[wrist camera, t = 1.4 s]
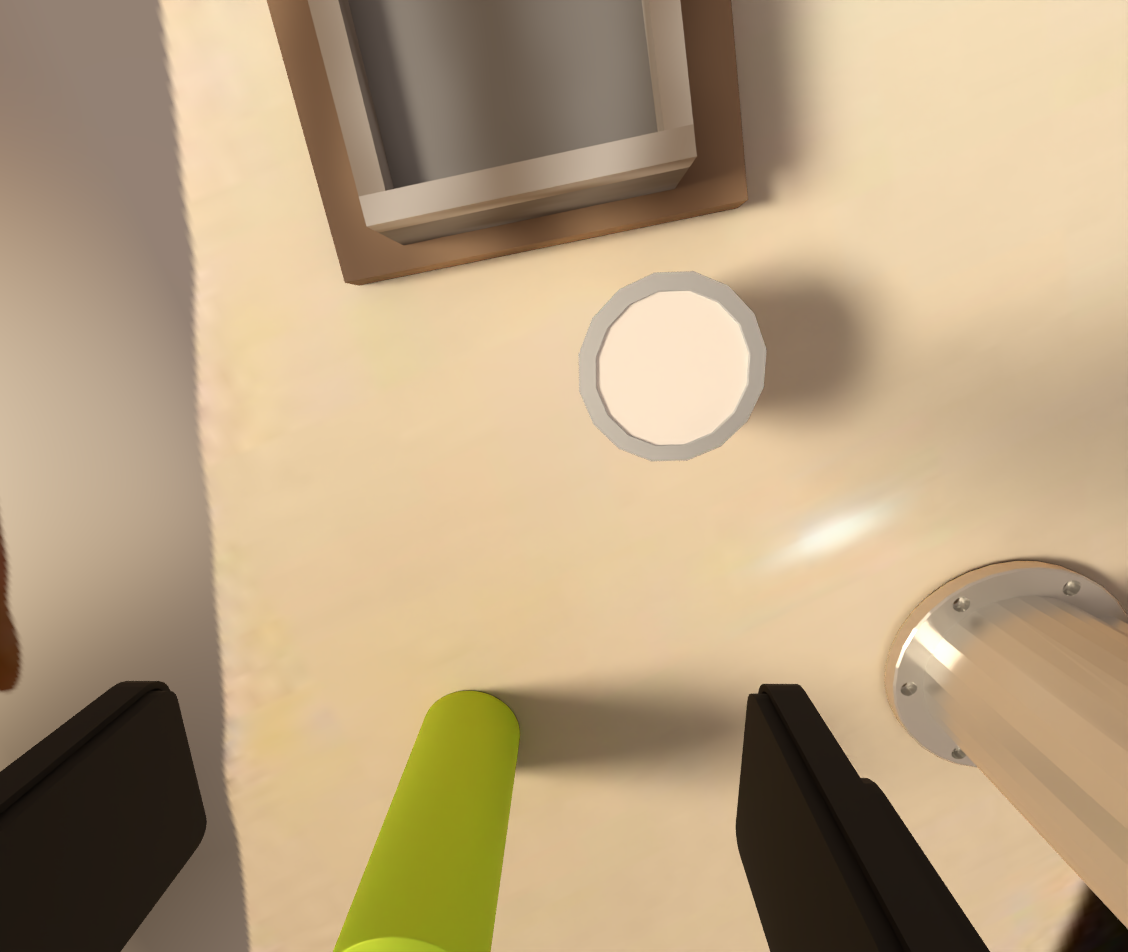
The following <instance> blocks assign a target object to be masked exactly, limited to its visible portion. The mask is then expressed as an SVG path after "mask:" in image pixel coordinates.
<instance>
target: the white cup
mask: <svg viewBox="0 0 1128 952" xmlns="http://www.w3.org/2000/svg"><path fill="white" fill-rule="evenodd" d="M766 350H767V349H766V346H765V343H764V340H763V337H762V334H761V331H760V328H759V326H758V323H757V320H756V317H755V314H754V313H753V312H752V310H751V309H750V308H749V307H748V306H747V305H746V304H745V303H744V302H743V301H742V300H741V299H740V297H739V296H738V295H737V294H736V293H735V292H734V291H733V290H732V289H731V288H730V287H729V286H728V285H725V284H723V283H720V282H718V281H716V280H713V279H711V278H708V277H706V276H704V275H701V274H699V273H696V272H694V271H691V272H658V273H653V274H651V275H649V276H647V277H644V278H642V279H640V280H638V281H636V282H634V283H632V284H629V285H627V286H625V287H623V288H621V289H619V290H618V291H617V292H616V293H615V294H614V295H613V296H612V298H611V299H610V300H609V301H608V302H607V303H606V304H605V305H604V306H603V307H602V308H601V310H600V311H599V312H598V313H597V314H596V315H595V316H594V317H593V318H592V321H591V323H590V326H589V329H588V331H587V334H586V336H585V339H584V342H583V344H582V347H581V350H580V352H579V392H580V394H581V397H582V399H583V401H584V404H585V406H586V408H587V410H588V413H589V415H590V417H591V420H592V422H593V424H594V425H595V426H596V427H597V428H598V429H599V430H600V431H601V432H602V433H603V434H604V435H605V436H606V437H607V438H608V439H609V440H610V441H611V442H612V443H613V444H614V445H615V446H617V447H618V448H619V449H621V450H623V451H626V452H629V453H631V454H634V455H636V456H639V457H642V458H644V459H647V460H649V461H687V460H689V459H692V458H694V457H697V456H699V455H701V454H704V453H706V452H709V451H711V450H713V449H716V448H718V447H721V446H722V445H723V444H724V443H725V442H726V441H727V440H728V439H729V438H730V437H731V436H732V435H733V434H734V433H735V432H736V431H737V430H739V429H740V428H741V427H742V426H743V425H744V424H745V423H746V422H747V421H748V419H749V417H750V415H751V413H752V411H753V408H754V406H755V404H756V402H757V400H758V398H759V396H760V394H761V392H762V390H763V388H764V377H765V364H766Z"/></svg>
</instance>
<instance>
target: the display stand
mask: <svg viewBox="0 0 1128 952" xmlns="http://www.w3.org/2000/svg"><path fill="white" fill-rule="evenodd" d="M267 3H268V7H269V10H270V14H271V17H272V21H273V25H274V28H275V32H276V35H277V39H278V43H279V46H280V50H281V53H282V57H283V61H284V64H285V68H286V71H287V75H288V79H289V82H290V86H291V90H292V93H293V97H294V100H295V104H296V108H297V111H298V115H299V118H300V122H301V126H302V129H303V133H304V136H305V140H306V144H307V147H308V151H309V154H310V158H311V162H312V165H313V169H314V173H315V176H316V180H317V183H318V187H319V191H320V194H321V198H322V201H323V205H324V209H325V212H326V216H327V219H328V223H329V227H330V230H331V234H332V237H333V241H334V245H335V248H336V252H337V256H338V259H339V263H340V266H341V270H342V274H343V277H344V281H345V283H350V284H354V285H363V284H368V283H373V282H378V281H382V280H387V279H392V278H397V277H402V276H407V275H412V274H417V273H422V272H426V271H431V270H436V269H441V268H446V267H451V266H456V265H461V264H466V263H471V262H475V261H480V260H485V259H490V258H495V257H500V256H505V255H510V254H515V253H519V252H524V251H529V250H534V249H539V248H544V247H549V246H554V245H559V244H564V243H568V242H573V241H578V240H583V239H588V238H593V237H598V236H603V235H608V234H612V233H617V232H622V231H627V230H632V229H637V228H642V227H647V226H652V225H656V224H661V223H666V222H671V221H676V220H681V219H686V218H691V217H696V216H701V215H705V214H710V213H715V212H720V211H725V210H730V209H735V208H738V207H739V206H741V205H742V204H743V203H744V202H746V201H747V200H748V195H747V183H746V172H745V160H744V148H743V137H742V125H741V113H740V101H739V90H738V78H737V66H736V55H735V43H734V31H733V19H732V8H731V0H267Z"/></svg>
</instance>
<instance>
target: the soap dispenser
mask: <svg viewBox="0 0 1128 952" xmlns="http://www.w3.org/2000/svg"><path fill="white" fill-rule="evenodd" d="M519 740H520V729H519V724H518V721H517V719H516V717H515V715H514V714H513V712H512V711H511V710H510V708H509V707H508V706H507V705H506V704H504V703H503V702H502V701H500V700H499V699H497V698H496V697H494V696H491V695H489V694H486V693H482V692H478V691H459V692H455V693H451V694H448V695H446V696H444V697H442V698H441V699H439V700H438V701H437V702H435V703H434V704H433V705H432V706H431V708H430V709H429V710H428V712H427V714H426V716H425V718H424V721H423V724H422V726H421V729H420V731H419V734H418V736H417V739H416V741H415V744H414V747H413V749H412V752H411V754H410V757H409V759H408V762H407V764H406V767H405V769H404V772H403V775H402V777H401V780H400V782H399V785H398V787H397V790H396V792H395V795H394V797H393V800H392V803H391V805H390V808H389V810H388V813H387V815H386V818H385V820H384V823H383V826H382V828H381V831H380V833H379V836H378V838H377V841H376V843H375V846H374V848H373V851H372V854H371V856H370V859H369V861H368V864H367V866H366V869H365V871H364V874H363V876H362V879H361V882H360V884H359V887H358V889H357V892H356V894H355V897H354V899H353V902H352V905H351V907H350V910H349V912H348V915H347V917H346V920H345V922H344V925H343V927H342V930H341V933H340V935H339V938H338V940H337V943H336V945H335V948H334V950H333V952H490V951H491V944H492V937H493V929H494V922H495V915H496V907H497V900H498V893H499V886H500V878H501V871H502V864H503V857H504V849H505V842H506V835H507V828H508V820H509V813H510V806H511V798H512V791H513V784H514V777H515V769H516V762H517V755H518V748H519Z"/></svg>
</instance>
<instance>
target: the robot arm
mask: <svg viewBox="0 0 1128 952" xmlns="http://www.w3.org/2000/svg"><path fill="white" fill-rule="evenodd" d="M885 688H886V693H887V698H888V702H889V704H890V707H891V709H892V711H893V713H894V715H895V717H896V718H897V720H898V721H899V722H900V723H901V725H902V726H903V727H904V729H905V730H906V731H907V732H908V734H909V735H910V736H911V737H912V738H913V739H914V740H915V741H916V742H917V743H918V744H919V745H920V746H921V747H923V748H924V749H926V750H927V751H929V752H931V753H932V754H934V755H936V756H937V757H939V758H942V759H944V760H947V761H949V762H952V763H955V764H960V765H966V766H971V767H978V768H979V769H980V770H981V771H982V772H983V774H984V775H985V776H986V777H987V778H988V779H989V780H990V781H991V782H992V783H993V784H994V785H995V786H996V788H997V789H998V790H999V791H1000V792H1001V793H1002V794H1003V795H1004V796H1005V797H1006V798H1007V799H1008V800H1009V802H1010V803H1011V804H1012V805H1013V806H1014V807H1015V808H1016V809H1017V810H1018V811H1019V812H1020V813H1021V814H1022V816H1023V817H1024V818H1025V819H1026V820H1027V821H1028V822H1029V823H1030V824H1031V825H1032V826H1033V827H1034V828H1035V830H1036V831H1037V832H1038V833H1039V834H1040V835H1041V836H1042V837H1043V838H1044V839H1045V840H1046V841H1047V842H1048V844H1049V845H1050V846H1051V847H1052V848H1053V849H1054V850H1055V851H1056V852H1057V853H1058V854H1059V855H1060V856H1061V858H1062V859H1063V860H1064V861H1065V862H1066V863H1067V864H1068V865H1069V866H1070V867H1071V868H1072V869H1073V870H1074V872H1075V873H1076V874H1077V875H1078V876H1079V877H1080V878H1081V879H1082V880H1083V881H1084V882H1085V883H1086V884H1087V886H1088V887H1089V888H1090V889H1091V890H1092V891H1093V892H1094V893H1095V894H1096V895H1097V896H1098V897H1099V898H1100V900H1101V901H1102V902H1103V903H1104V904H1105V905H1106V906H1107V907H1108V908H1109V909H1110V910H1111V911H1112V912H1113V914H1114V915H1115V916H1116V917H1117V918H1118V919H1119V920H1120V921H1121V922H1122V923H1123V924H1124V925H1125V926H1126V927H1127V929H1128V617H1127V614H1126V613H1125V611H1124V610H1123V608H1122V607H1121V605H1120V604H1119V602H1118V601H1117V599H1116V598H1115V597H1114V596H1112V595H1111V594H1110V593H1109V592H1108V591H1107V590H1106V589H1105V588H1104V587H1103V586H1101V585H1099V584H1098V583H1096V582H1094V581H1092V580H1090V579H1089V578H1087V577H1085V576H1083V575H1081V574H1079V573H1076V572H1074V571H1071V570H1069V569H1067V568H1064V567H1062V566H1059V565H1054V564H1049V563H1044V562H1039V561H1012V562H1006V563H999V564H993V565H989V566H986V567H983V568H980V569H977V570H973V571H970V572H968V573H966V574H964V575H962V576H960V577H958V578H956V579H954V580H952V581H950V582H948V583H946V584H945V585H943V586H942V587H940V588H939V589H938V590H936V591H935V592H933V593H932V594H931V595H929V596H928V597H927V598H926V599H925V600H924V601H923V602H922V603H921V604H920V605H919V606H918V607H917V608H915V609H914V610H913V611H912V612H911V614H910V615H909V617H908V618H907V619H906V621H905V622H904V623H903V625H902V626H901V628H900V629H899V631H898V633H897V635H896V637H895V639H894V641H893V643H892V645H891V647H890V650H889V654H888V658H887V662H886V666H885ZM205 830H206V815H205V811H204V806H203V802H202V798H201V794H200V790H199V786H198V782H197V778H196V773H195V769H194V765H193V761H192V757H191V753H190V748H189V745H188V740H187V736H186V732H185V728H184V724H183V719H182V715H181V711H180V707H179V703H178V699H177V696H176V694H175V693H174V692H172V691H170V689H169V687H168V686H167V685H166V684H165V683H163V682H160V681H125V682H121V683H119V684H116V685H115V686H113V687H112V688H110V689H109V690H108V691H106V692H105V693H104V694H102V695H101V696H100V697H98V698H97V699H96V700H95V701H93V702H92V703H90V704H89V705H88V706H87V707H85V708H84V709H83V710H81V711H80V712H79V713H77V714H76V715H75V716H73V717H72V718H71V719H69V720H68V721H67V722H65V723H64V724H63V725H61V726H60V727H59V728H58V729H56V730H55V731H54V732H52V733H51V734H50V735H48V736H47V737H46V738H44V739H43V740H42V741H40V742H39V743H38V744H36V745H35V746H34V747H32V748H31V749H30V750H29V751H27V752H26V753H25V754H23V755H22V756H21V757H19V758H18V759H17V760H15V761H14V762H13V763H11V764H10V765H9V766H7V767H6V768H5V769H4V770H2V771H1V772H0V952H121V950H122V949H123V947H124V946H125V945H126V943H127V942H128V941H129V939H130V938H131V937H132V935H133V934H134V933H135V931H136V930H137V929H138V927H139V925H140V924H141V923H142V922H143V920H144V919H145V918H146V916H147V915H148V914H149V912H150V911H151V910H152V908H153V907H154V906H155V904H156V903H157V902H158V900H159V899H160V897H161V896H162V895H163V893H164V892H165V891H166V889H167V888H168V887H169V885H170V884H171V883H172V881H173V880H174V879H175V877H176V876H177V874H178V873H179V872H180V870H181V869H182V868H183V866H184V865H185V864H186V862H187V861H188V860H189V858H190V857H191V856H192V854H193V853H194V851H195V850H196V849H197V847H198V846H199V844H200V843H201V840H202V838H203V836H204V833H205ZM736 838H737V844H738V849H739V853H740V856H741V860H742V863H743V866H744V869H745V872H746V876H747V879H748V882H749V885H750V888H751V892H752V895H753V898H754V901H755V904H756V907H757V911H758V914H759V917H760V920H761V923H762V927H763V930H764V933H765V936H766V939H767V942H768V946H769V949H770V952H990V951H989V949H988V948H987V946H986V945H985V943H984V942H983V940H982V939H981V937H980V936H979V934H978V933H977V931H976V930H975V928H974V927H973V925H972V924H971V923H970V921H969V920H968V918H967V917H966V915H965V914H964V912H963V911H962V909H961V908H960V906H959V905H958V903H957V902H956V900H955V899H954V897H953V896H952V894H951V893H950V891H949V890H948V888H947V887H946V885H945V884H944V882H943V881H942V879H941V878H940V876H939V875H938V873H937V872H936V870H935V869H934V867H933V866H932V864H931V863H930V861H929V860H928V858H927V857H926V855H925V854H924V852H923V851H922V849H921V848H920V846H919V845H918V843H917V842H916V840H915V839H914V837H913V836H912V834H911V833H910V831H909V830H908V828H907V827H906V825H905V824H904V822H903V821H902V819H901V818H900V817H899V815H898V814H897V812H896V811H895V809H894V808H893V806H892V805H891V803H890V802H889V800H888V799H887V797H886V796H885V794H884V793H883V792H882V790H881V789H880V788H879V787H878V785H877V784H876V783H874V782H873V781H871V780H870V779H868V778H860V777H859V775H858V774H857V772H856V770H855V769H854V767H853V766H852V764H851V763H850V761H849V759H848V758H847V756H846V755H845V753H844V752H843V750H842V749H841V747H840V745H839V744H838V742H837V741H836V739H835V738H834V736H833V734H832V733H831V731H830V730H829V728H828V727H827V725H826V724H825V722H824V720H823V719H822V717H821V716H820V714H819V713H818V711H817V709H816V708H815V706H814V705H813V703H812V702H811V700H810V699H809V697H808V695H807V694H806V692H805V691H804V689H803V688H802V687H801V686H800V685H798V684H762V685H761V686H760V688H759V692H758V694H749V696H748V701H747V710H746V721H745V732H744V742H743V753H742V764H741V775H740V785H739V796H738V807H737V817H736Z"/></svg>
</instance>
